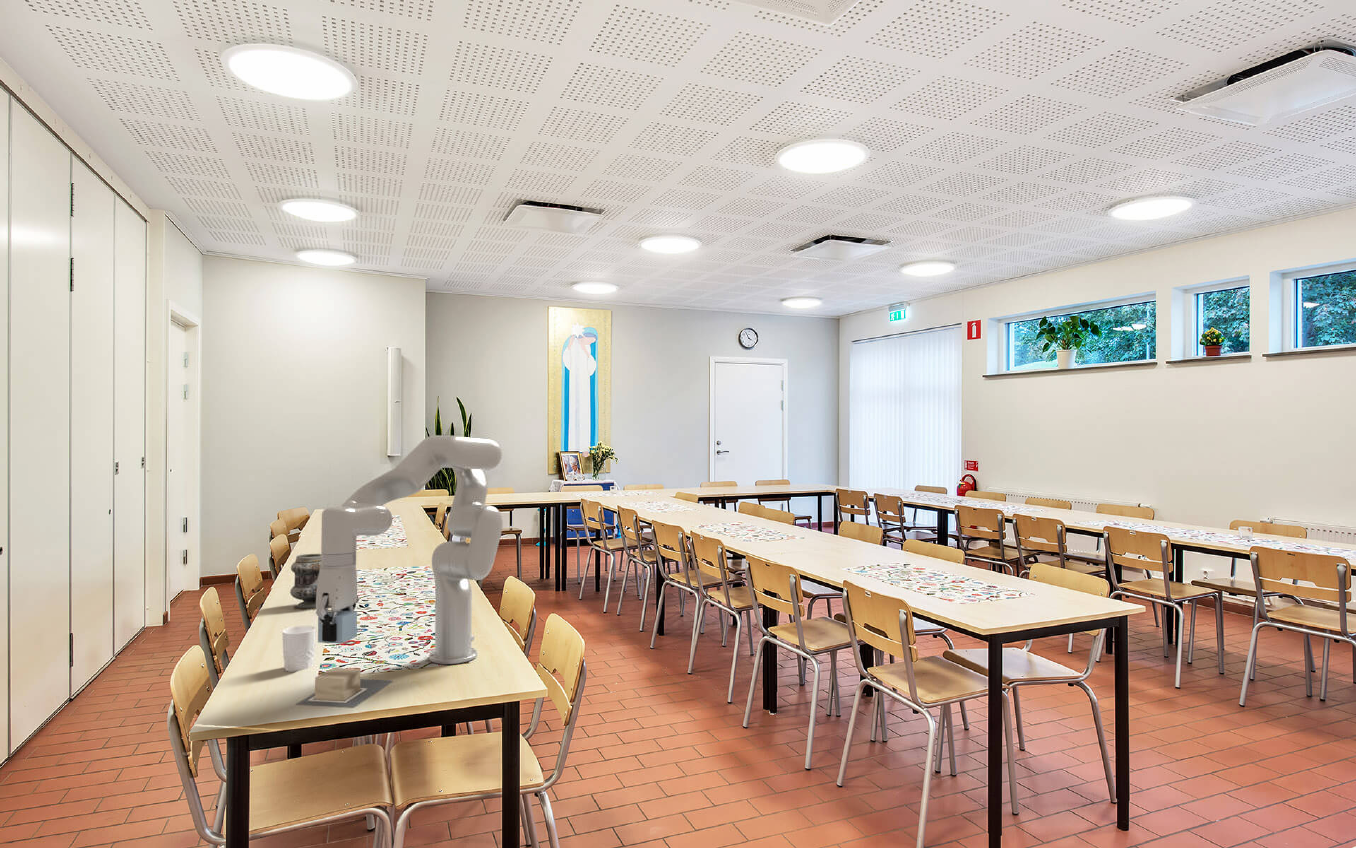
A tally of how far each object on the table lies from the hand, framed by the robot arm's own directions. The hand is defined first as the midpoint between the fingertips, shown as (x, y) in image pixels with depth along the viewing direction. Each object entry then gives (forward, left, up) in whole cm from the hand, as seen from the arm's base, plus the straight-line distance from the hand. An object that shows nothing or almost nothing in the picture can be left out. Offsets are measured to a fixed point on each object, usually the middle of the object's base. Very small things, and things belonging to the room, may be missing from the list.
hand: (337, 636), depth 176 cm
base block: (0, 0, -14) cm, 14 cm away
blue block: (0, 0, -1) cm, 1 cm away
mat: (-2, +1, -14) cm, 14 cm away
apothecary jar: (-80, -60, -14) cm, 101 cm away
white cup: (-18, -22, -14) cm, 32 cm away
